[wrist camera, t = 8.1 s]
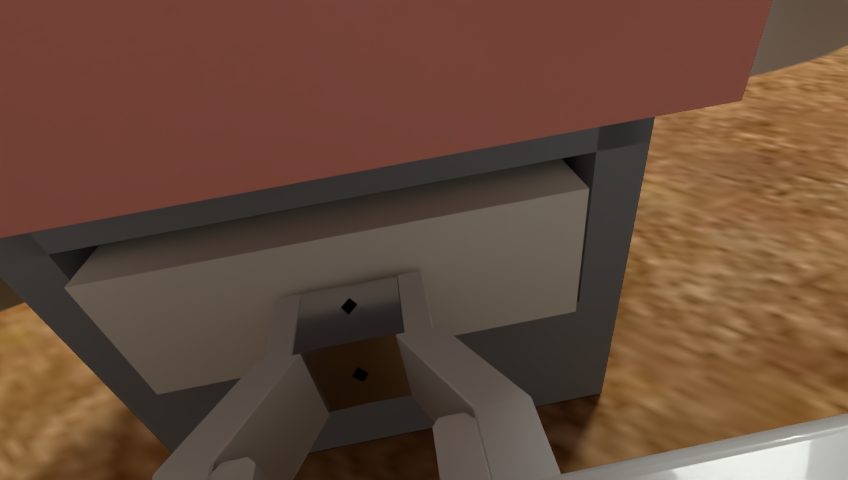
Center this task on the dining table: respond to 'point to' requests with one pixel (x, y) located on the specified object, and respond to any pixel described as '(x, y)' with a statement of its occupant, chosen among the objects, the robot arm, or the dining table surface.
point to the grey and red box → (500, 347)
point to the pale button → (338, 268)
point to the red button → (325, 88)
